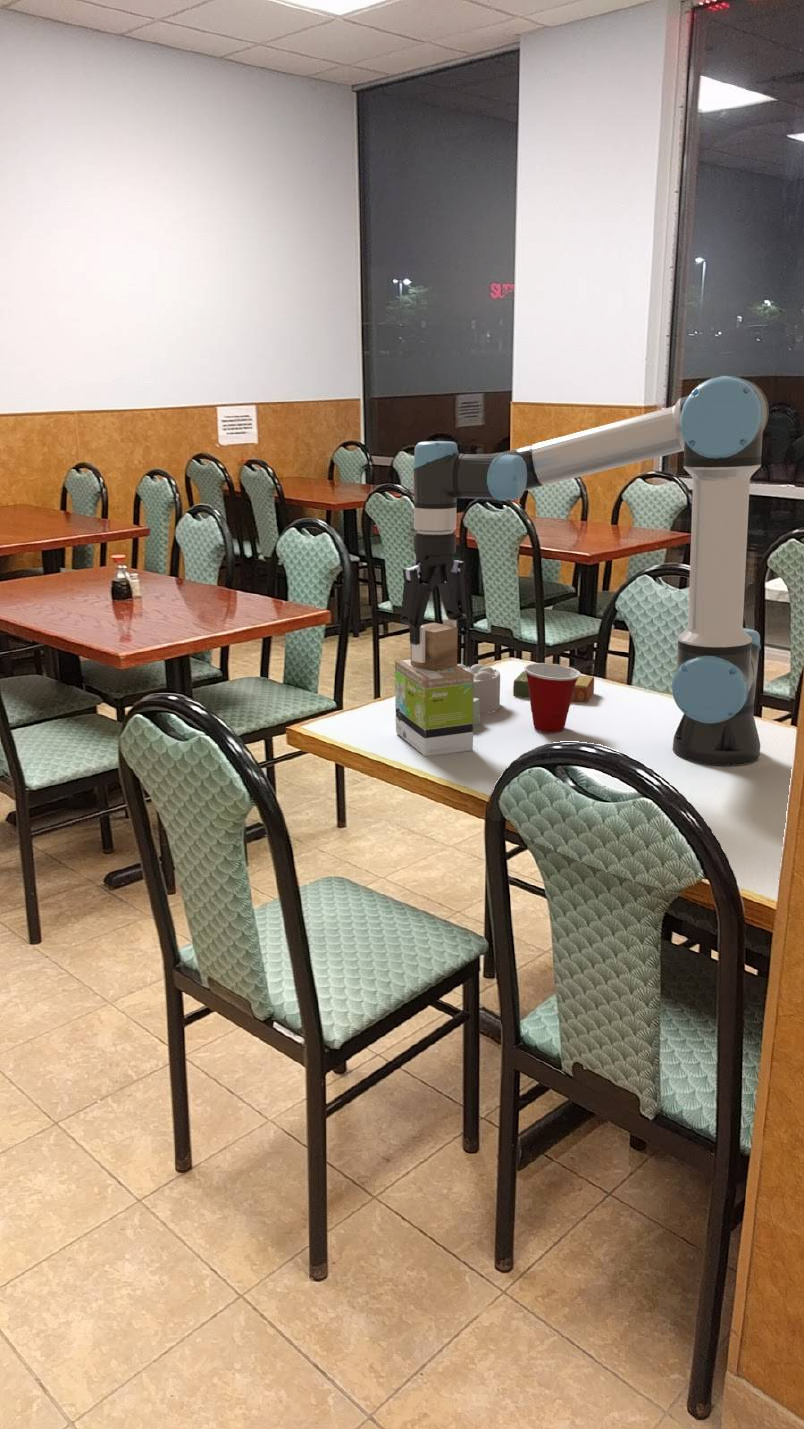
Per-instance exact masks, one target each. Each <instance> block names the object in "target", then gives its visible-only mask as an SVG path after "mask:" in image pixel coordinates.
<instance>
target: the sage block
mask: <svg viewBox="0 0 804 1429" xmlns="http://www.w3.org/2000/svg"><path fill="white" fill-rule="evenodd" d="M473 702H474V705H473V707H474V708H473V727H474V726H476V725H478V724H479V723H480V715H479V710H480V699H478V698H474V701H473Z"/></svg>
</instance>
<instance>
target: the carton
mask: <svg viewBox="0 0 804 1429" xmlns="http://www.w3.org/2000/svg"><path fill="white" fill-rule="evenodd" d="M512 688H513V690H512V692H513V693H512V694H513V695H512V696H513V697H514V696H515V698H524V699H525V698H526V699H530V696H529V687H528V682H527V675H526V672H525V670H523V671H522V672H521V673H519V675H518V676H517V677H516V678H515V679H514V680H513V687H512ZM594 690H595V677H594V676H590V675H580V677H579V678H578V679H577V682H576V684H575V687H574V690H573V694H572V698H571V702H572V703H579V704H581V703H583V704H584V703H585V704H587V703H588V702H589V700H590V699H591V698H592V696H593V695H594V693H595V692H594Z"/></svg>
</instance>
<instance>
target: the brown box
mask: <svg viewBox="0 0 804 1429" xmlns="http://www.w3.org/2000/svg"><path fill="white" fill-rule="evenodd" d="M421 626H424V627H425V663H420V662H416V661H412V644H410V660H411V665H413V666H417V667H421V668H425V669H429V670H433V671H435V670H439V669H443V668H447V667H451V666H455V665H457V664H458V635H457V630H458V631H459V626H458V627H453V626H448V625H443V623H437V622H430V623H426V624H422V625H421Z"/></svg>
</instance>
